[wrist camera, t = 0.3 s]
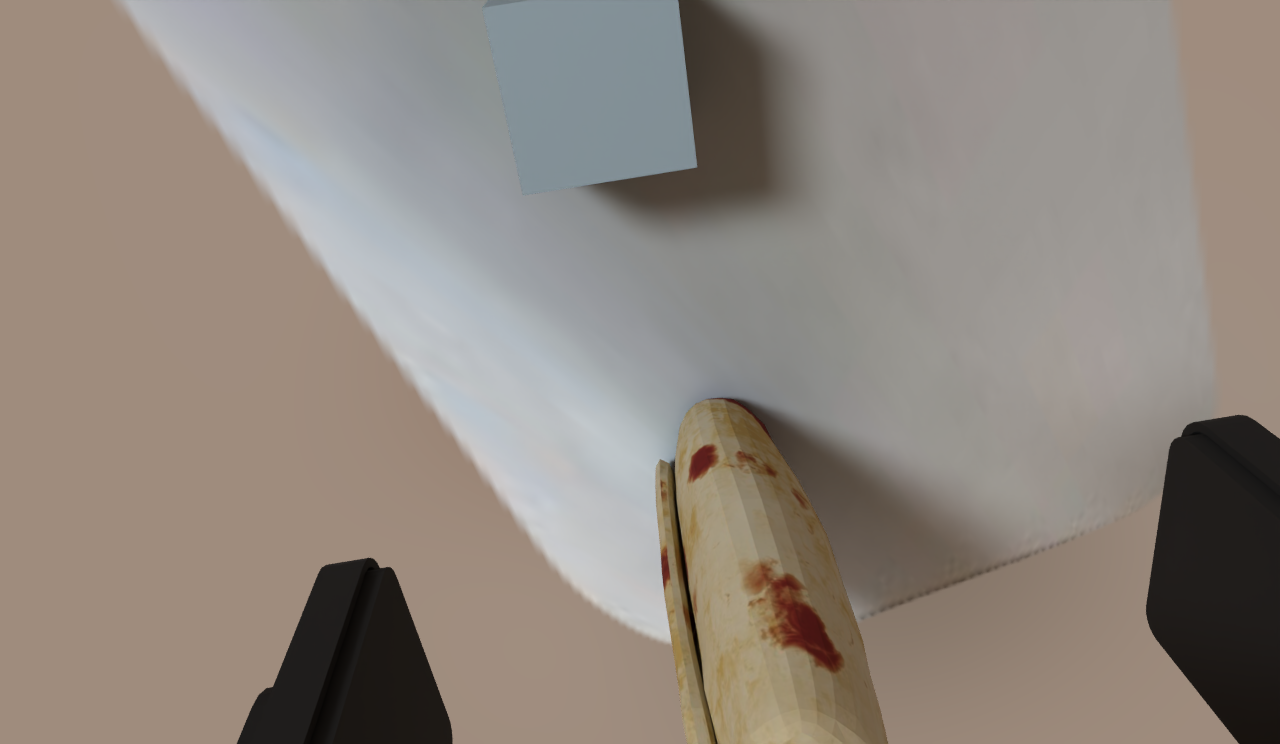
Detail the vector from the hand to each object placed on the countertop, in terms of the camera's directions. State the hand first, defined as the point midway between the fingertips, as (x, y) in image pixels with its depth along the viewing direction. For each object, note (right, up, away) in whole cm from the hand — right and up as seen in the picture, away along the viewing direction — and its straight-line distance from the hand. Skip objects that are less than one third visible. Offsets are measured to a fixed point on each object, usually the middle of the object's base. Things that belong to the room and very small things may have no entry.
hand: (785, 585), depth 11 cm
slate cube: (-4, +15, +23) cm, 27 cm away
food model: (+2, -1, +32) cm, 32 cm away
